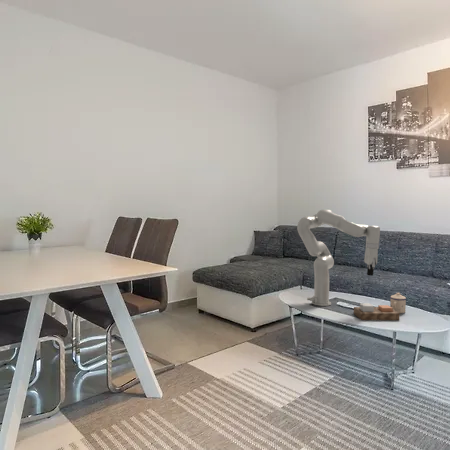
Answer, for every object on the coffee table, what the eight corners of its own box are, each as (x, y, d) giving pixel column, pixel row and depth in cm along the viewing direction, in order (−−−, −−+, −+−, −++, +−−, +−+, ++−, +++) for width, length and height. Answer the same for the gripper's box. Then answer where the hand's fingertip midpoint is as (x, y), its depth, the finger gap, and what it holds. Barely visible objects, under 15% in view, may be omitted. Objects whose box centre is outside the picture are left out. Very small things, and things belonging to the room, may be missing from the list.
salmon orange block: (382, 316, 225) (382, 308, 225) (378, 313, 231) (378, 305, 231) (392, 316, 225) (392, 308, 225) (388, 313, 231) (388, 305, 231)
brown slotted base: (361, 320, 222) (361, 313, 222) (353, 313, 235) (353, 307, 235) (399, 320, 222) (399, 313, 222) (389, 313, 235) (389, 307, 235)
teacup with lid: (392, 308, 246) (392, 290, 245) (407, 311, 240) (408, 292, 239) (386, 312, 237) (386, 294, 236) (402, 315, 231) (402, 296, 230)
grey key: (363, 314, 225) (363, 306, 225) (359, 311, 231) (360, 303, 231) (373, 314, 225) (373, 306, 225) (369, 311, 231) (370, 303, 231)
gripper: (362, 243, 244) (360, 272, 245) (370, 247, 229) (368, 277, 230) (374, 244, 244) (371, 272, 245) (383, 247, 229) (380, 278, 230)
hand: (370, 275), depth 238 cm, fingers closed
